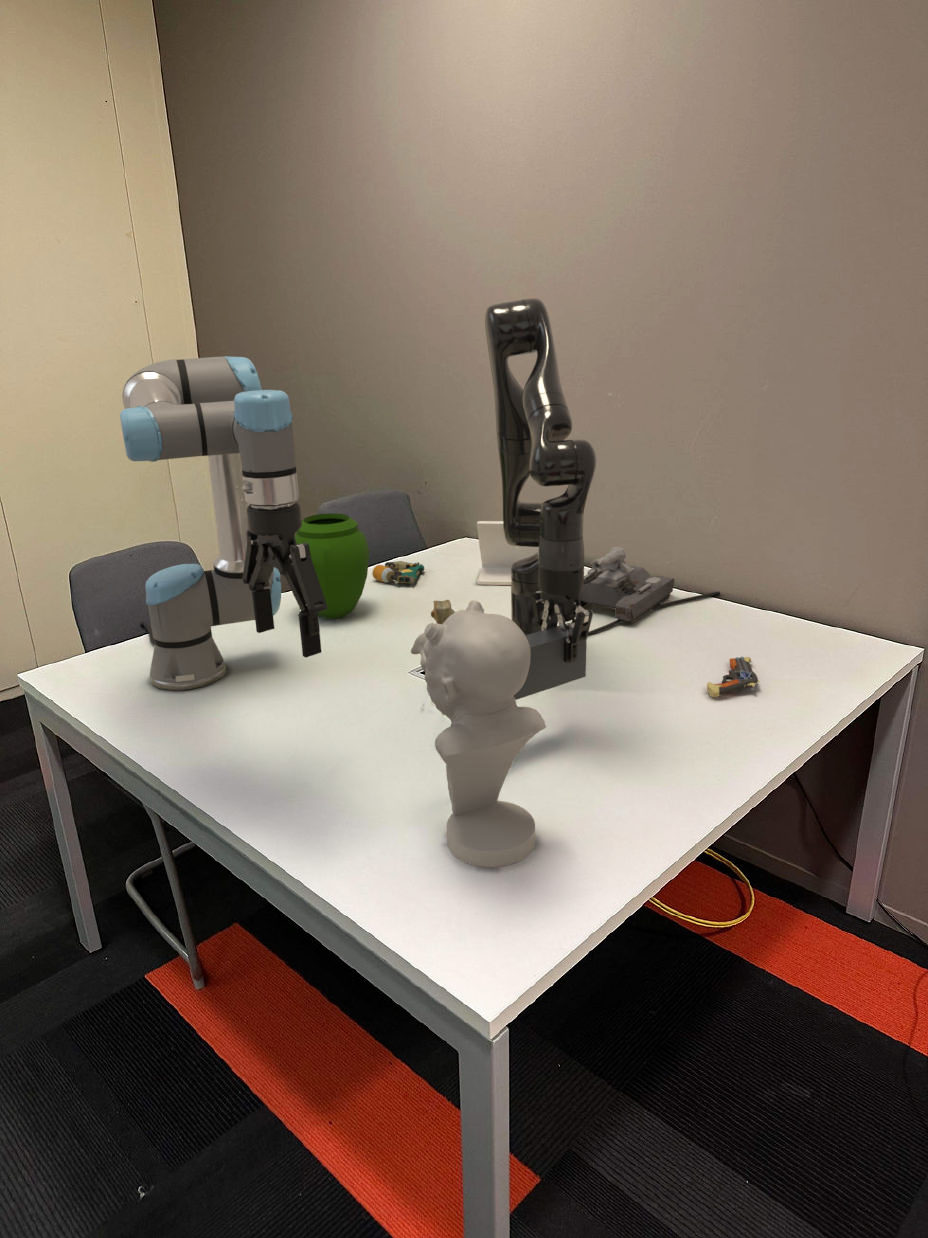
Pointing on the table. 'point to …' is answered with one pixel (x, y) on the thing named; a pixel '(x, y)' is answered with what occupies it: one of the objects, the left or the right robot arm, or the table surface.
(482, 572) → the tablet stand
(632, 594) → the toy
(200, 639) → the left robot arm
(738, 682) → the toy gun
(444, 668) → the bust sculpture
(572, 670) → the bar
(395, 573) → the spray gun
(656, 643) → the table surface
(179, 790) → the table surface
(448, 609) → the sculpture
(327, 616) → the vase
